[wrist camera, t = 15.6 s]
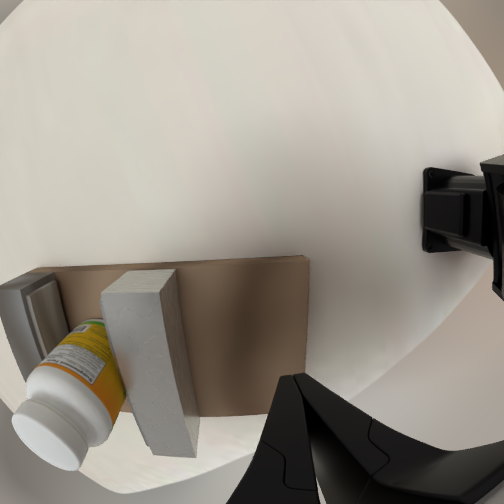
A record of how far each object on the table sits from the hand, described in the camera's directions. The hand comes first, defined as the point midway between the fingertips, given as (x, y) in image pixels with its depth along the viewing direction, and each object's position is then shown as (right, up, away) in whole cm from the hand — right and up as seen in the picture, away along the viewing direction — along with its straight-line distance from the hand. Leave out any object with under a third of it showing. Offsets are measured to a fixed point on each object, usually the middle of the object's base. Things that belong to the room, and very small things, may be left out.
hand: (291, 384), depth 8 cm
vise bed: (-8, -2, +10) cm, 13 cm away
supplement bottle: (-12, -2, +8) cm, 15 cm away
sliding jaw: (-7, -2, +8) cm, 11 cm away
